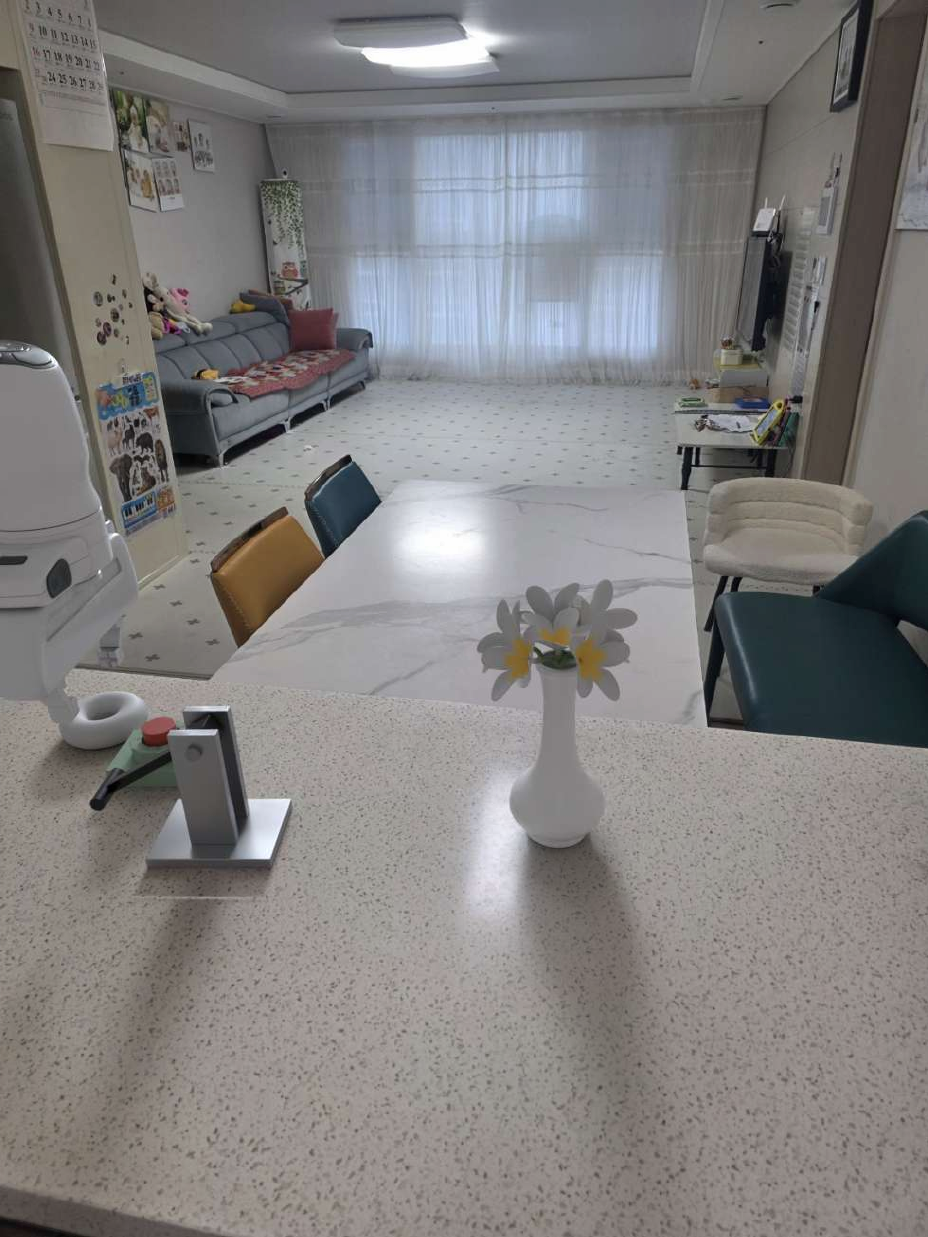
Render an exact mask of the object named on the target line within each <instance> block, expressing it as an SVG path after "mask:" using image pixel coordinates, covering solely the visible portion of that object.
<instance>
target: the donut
mask: <svg viewBox="0 0 928 1237" xmlns="http://www.w3.org/2000/svg"><path fill="white" fill-rule="evenodd" d="M77 702H78V707H79V710H80V711H79V713H78V714H77V716H76V717H75V718H74V719H73V721H72V722H71V723H58V730H59V733H60V736H61V738H62V740H64V741H65V742H66V743H67V744H69V745H70V746H72V747H75V748H78V749H82V750H99V749H108V748H110V747H114V746H117V745H121V744H122V743H125V742H126V741H127V739H128V738H129V737H130V735H131V734H132V732H133V731H134V730H139V729H141V728H142V726H143V725H144V724H145V723H146V722H148V716H149V710H148V707H147V705H146V703H145V701H144V700H143V699H142V698H141V697H140V696H138V695H137V694H135V693H132V692H129V691H128V692H127V691H124V690H123V691H122V690H111V691H103V692H99V693H95V694H92V695H88V696H86V697H84V698H81V699H80V700H77Z"/></svg>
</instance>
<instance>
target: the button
mask: <svg viewBox="0 0 928 1237" xmlns="http://www.w3.org/2000/svg"><path fill="white" fill-rule="evenodd" d="M175 720H176V719H174V718H172V717H170V716H159V717H154V718H152V719H149V720H147V721H146V723H145V724H144V725H143V726H142V734H143V738H144V742H145V744H146V745H147V746H149V747H159V746H163V745H166V744H168V739H167V735H168V733H169V732H170V730H177V726H176V722H175Z"/></svg>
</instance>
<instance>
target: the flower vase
mask: <svg viewBox="0 0 928 1237" xmlns="http://www.w3.org/2000/svg"><path fill="white" fill-rule="evenodd" d="M580 587H581V585H580V583H579V582H572V583H570V584H567V585H566V586H564V587H563V588H561V590H559V592H558V593H557V594H556V596H555V597H554V599H553V600H554V601H553V600H552V598H551V596H550V594H549V593H548V591H547V590H545V589H544V588H543V587H541V586H538V585H530V586H529V587H527V589H526V591H525V599H526V602H527V604H528V605H529V607H530V608H531V610H532V611H530V610H521V600H520V599H517V600H516V601H515V603H514V605H513V607H512V611H511V610H510V608H509V605H508V603H507V601H506V600H505V599H504V598H502V599H500V601H499V602H498V604H497V608H496V615H495V618H496V624H497V627H498V629H499V630H500V631H501V632H500V631H492V632H490V633H488V634H486V635H485V636H483V637H482V639H480V640H479V642H478V644H477V646H476V652H477V653H478V654H481V659H480V661H481V664H482V665H483V668H482V671H481V673H482V674H486V672H488V671H489V670H493V671H494V670H495V671H504V672H501V673H500V674H499V675H498V676H497V678H496V679H495V681H494V683H493V686H492V689H491V696H490V697H491V698H490V699H491V701H492V702H494V703H495V702H498V701H500V699H502V698H503V696H505V695H506V693H507V691H508V690H510V688H511V687H512V686H513V685H514V684H515V683H516V684H517V686H518V687H520V688H521V689H526V688H527V687H528V686H529V685H530V683H531V680H532V665H534V666H535V669H536V671H537V673H538V674H539V679H540V686H541V692H542V693H541V694H542V719H541V721H542V723H541V734H540V735H541V736H540V746H539V750H538V753H537V756H536V758H535V760H534V762H533V764H531V765H530V766H529V767H527V768H526V769H524V770H523V771H522V772H521V773H520V774H519V775H518V777H517V778H516V779H515V781H513V784H512V787H511V789H510V794H509V796H508V803H509V804H508V805H509V810H510V813H511V815H512V816H513V819H514V820H515V822H516V823H517V824H518V825H519V827H521V828H522V829H523V830H524V831H525V832H526V834H527V835H528V837H529V838H531V840H533V842H535V843H537V844H539V845H541V846H544V847H546V848H552V849H565V848H569V847H573V846H575V845H578V844H579V843H580V842H581V841H583V840H584V838H585V837H586V835H588V834H589V833H590V832H591V831H593V830H594V829H595V828H596V827H597V826H598V825H599V824H600V822H601V820H602V819H603V817H604V815H605V809H606V798H605V794H604V791H603V788H602V785H601V784H600V783H599V781H598V780H597V779H596V777H595V776H594V775H593V773H592V772H590V771H589V770H588V769H587V768H585V767H584V766H583V765H582V763H581V760H580V758H579V755H578V750H577V741H576V739H577V738H576V701H577V700H576V699H577V694H578V696H579V697H580V698H581V699H586V698H588V697H589V695H590V694H591V693H592V690H593V687H594V684H595V685H596V686H597V687H598V688H599V690H600V691H601V692H602V693H603V695H604V696H605V697H606V698H608V700H610V701H613V702H617V701H618V700H620V697H621V691H620V690H621V689H620V686H619V683H618V681H617V679H616V677H615V676H614V674H613V673H612V672H611V671H610V670H608V669H606V668H613V667H618V666H619V665H621V664H623V663H626V664H631V663H630V660H629V657H630V655H631V648H630V646H629V644H627V643H626V642H625V637H623V635H622V634H621V633H620V632H619V631H617V630H622V629H627V628H630V627H631V626H633V625H635V624H636V623H637V621H638V620H639V619H638V614H637V612H635V611H634V610H632V609H629V608H625V607H612V608H609V607H610V606H611V604H612V600H613V597H614V588H613V583H612V581H610V579H606V578H605V579H602V580H600V581H599V582H598V583H597V585H596V586H595V587H594V589H593V592H592V594H591V597H590V599H589V602H588V600H587V599H586V598H585V597H583V595H581V594H578V592H579V590H580ZM521 625H528V627H527V628H525V630H524V631H523V632H521ZM536 643H537V644H540V645H543V646H546V647H548V648H550V649H549V650H545V651H543V652H542V650H541V649H540V648H538V647H537V646H536ZM534 653H535V654H536V655H537V657H534Z"/></svg>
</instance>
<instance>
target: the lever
mask: <svg viewBox="0 0 928 1237" xmlns="http://www.w3.org/2000/svg"><path fill="white" fill-rule="evenodd" d="M186 730H218V733H219V738H220V743H221V741H222V739H223V737H224V735H225V732H224V730H223V729H222V728H221V727H220V726H219V725H218V724H217V722H216V721H215V720H214V719H213V718H212V717H211V716H210V715H208V716H206V717H205V718H203V719H201V720H199V721H197V722H196V723H194V724H192V725H190V726H188V727H187V728H186ZM171 761H172V757H171V752H170V748H167V749H165V750H164V751H162V752H160V753H158V754H156V755H155V756H153V757H151V758H149V759H147V760H146V761H144V762H142V763H140V764H138V765H137V766H135V767H133V768H131V769H129V770H128V771H126V772H124V770H122V769H121V768H113V769H112V770H111V772H110V773H109V774H108V776H107V775H106V777H105V778H104V780H103V781H102V783H101V784H100V786H99V788H98V789H97V790H96V791H95V793H94V795H93V796H92V797H91V799H90V800H89V804H88V805H89V807H90V808H91V809H92V810H93V811H96V812H101V811H103V810H104V809H105V808H106V807H107V805H108V803H109V802H110V800H112V797H113V796H114V795H115V793H117V792H119V791H120V790H122V789H124V788H127V787H126V786H128V785H129V784H131V783H133V782H135V781H137V780H138V779H140V778H142V777H144V776H146V775H148V774H149V773H151V772H153V771H155V770H157V769H159V768H160V767H162V766H164V765H166V764H168V763H170V762H171Z"/></svg>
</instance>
